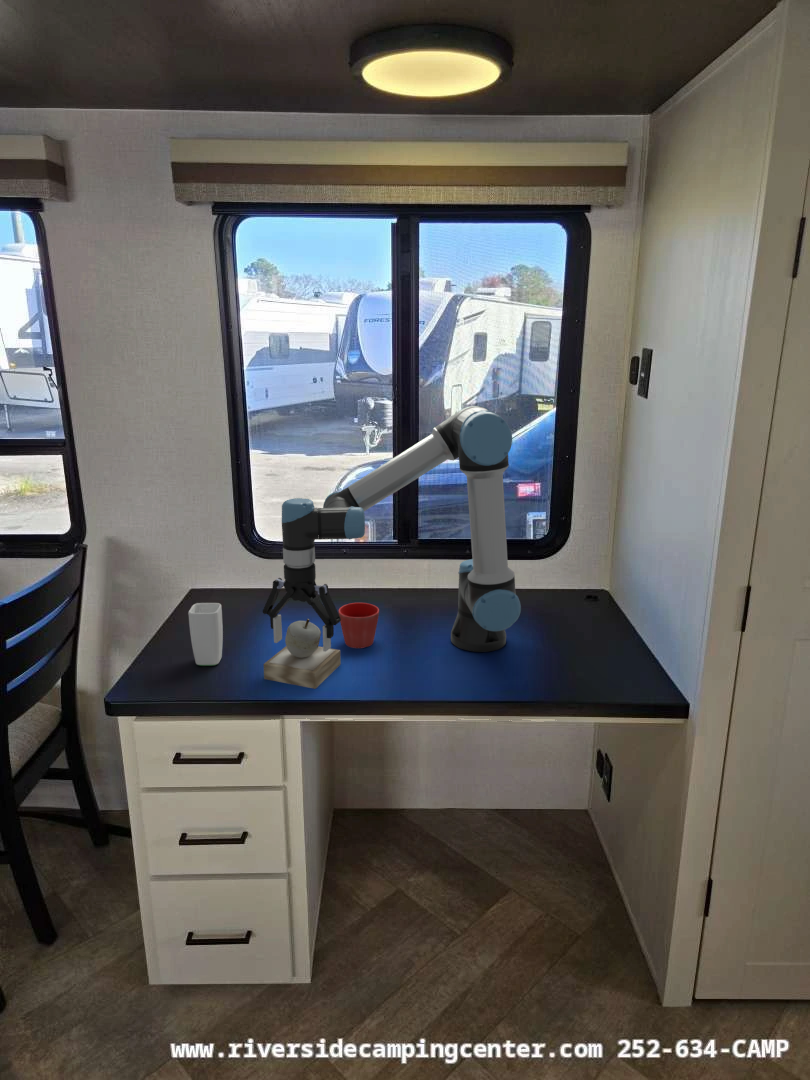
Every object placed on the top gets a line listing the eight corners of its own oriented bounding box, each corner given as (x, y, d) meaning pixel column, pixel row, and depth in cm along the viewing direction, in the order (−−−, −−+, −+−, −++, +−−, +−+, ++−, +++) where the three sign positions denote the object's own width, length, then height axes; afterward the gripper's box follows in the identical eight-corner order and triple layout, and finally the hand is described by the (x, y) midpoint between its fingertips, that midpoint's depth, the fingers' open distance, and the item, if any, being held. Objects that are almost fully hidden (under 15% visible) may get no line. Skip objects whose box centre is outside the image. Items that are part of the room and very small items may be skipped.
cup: (198, 656, 192) (193, 602, 187) (226, 655, 192) (222, 602, 188) (191, 668, 185) (186, 613, 180) (220, 668, 185) (216, 613, 181)
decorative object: (281, 652, 184) (280, 615, 182) (315, 646, 188) (314, 609, 185) (291, 666, 177) (289, 628, 174) (326, 660, 180) (325, 622, 177)
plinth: (340, 664, 188) (340, 649, 186) (315, 688, 175) (315, 672, 174) (292, 655, 192) (291, 640, 191) (264, 678, 180) (263, 662, 178)
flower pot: (374, 652, 194) (373, 618, 192) (334, 648, 197) (333, 615, 194) (383, 636, 204) (383, 604, 202) (345, 633, 207) (344, 601, 204)
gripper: (353, 564, 175) (354, 646, 181) (262, 553, 183) (266, 631, 189) (340, 574, 168) (341, 659, 174) (245, 561, 176) (250, 643, 182)
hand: (302, 645), depth 182 cm, fingers open, 13 cm apart
